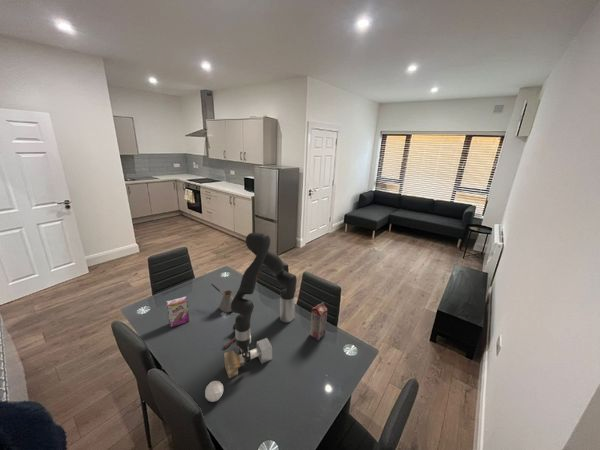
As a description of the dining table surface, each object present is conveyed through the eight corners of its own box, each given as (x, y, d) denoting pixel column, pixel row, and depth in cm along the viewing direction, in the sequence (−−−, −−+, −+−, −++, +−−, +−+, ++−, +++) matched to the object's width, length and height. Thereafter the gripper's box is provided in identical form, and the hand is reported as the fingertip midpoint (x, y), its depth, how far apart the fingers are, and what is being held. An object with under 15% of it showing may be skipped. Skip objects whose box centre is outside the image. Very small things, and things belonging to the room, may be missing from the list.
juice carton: (325, 334, 148) (328, 304, 141) (318, 340, 143) (321, 309, 136) (316, 329, 152) (319, 299, 145) (309, 334, 147) (312, 303, 141)
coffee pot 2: (243, 325, 152) (251, 333, 147) (217, 343, 140) (225, 353, 135) (242, 316, 148) (251, 325, 143) (216, 335, 136) (224, 345, 131)
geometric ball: (219, 401, 109) (227, 395, 105) (202, 406, 104) (209, 400, 100) (218, 382, 114) (225, 376, 110) (201, 386, 109) (208, 380, 105)
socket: (233, 362, 126) (233, 349, 123) (238, 374, 120) (237, 360, 117) (225, 366, 123) (224, 353, 121) (228, 378, 117) (228, 364, 115)
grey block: (266, 350, 135) (266, 337, 132) (272, 359, 129) (272, 346, 126) (256, 354, 132) (256, 341, 129) (261, 363, 126) (261, 350, 123)
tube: (263, 349, 133) (263, 339, 131) (268, 358, 127) (268, 348, 125) (229, 362, 124) (229, 352, 122) (233, 373, 118) (233, 362, 116)
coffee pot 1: (240, 307, 169) (239, 288, 164) (228, 316, 159) (227, 297, 155) (218, 297, 178) (217, 279, 174) (205, 305, 169) (204, 287, 164)
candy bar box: (170, 328, 147) (166, 305, 142) (169, 323, 151) (165, 301, 146) (189, 322, 153) (187, 299, 148) (188, 317, 157) (185, 295, 152)
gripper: (255, 341, 115) (255, 367, 120) (245, 323, 126) (246, 347, 131) (240, 347, 111) (241, 374, 116) (231, 327, 123) (232, 353, 128)
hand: (243, 360), depth 124 cm, fingers open, 8 cm apart
